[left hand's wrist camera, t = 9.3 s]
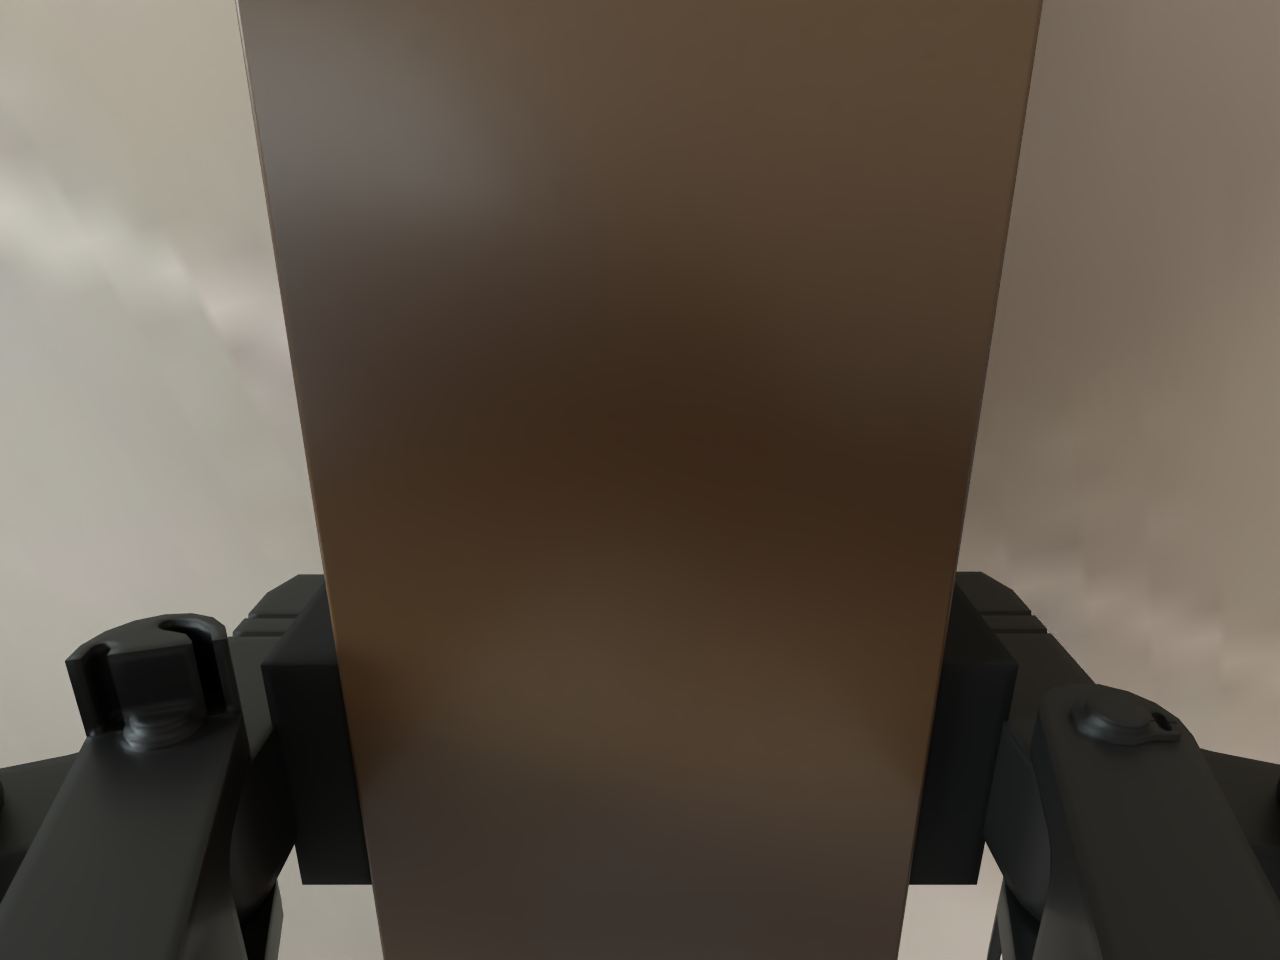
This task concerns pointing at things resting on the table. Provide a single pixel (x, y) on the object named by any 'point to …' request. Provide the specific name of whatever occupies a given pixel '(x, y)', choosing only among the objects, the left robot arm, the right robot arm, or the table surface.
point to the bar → (639, 444)
